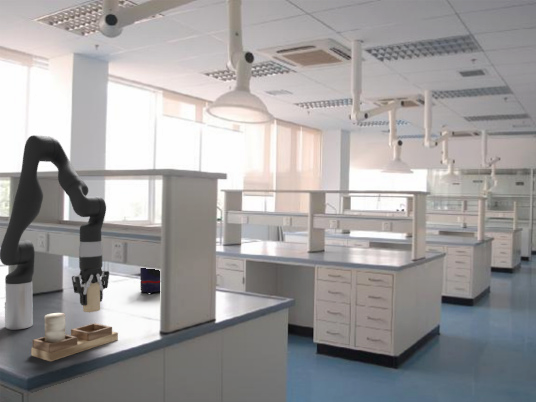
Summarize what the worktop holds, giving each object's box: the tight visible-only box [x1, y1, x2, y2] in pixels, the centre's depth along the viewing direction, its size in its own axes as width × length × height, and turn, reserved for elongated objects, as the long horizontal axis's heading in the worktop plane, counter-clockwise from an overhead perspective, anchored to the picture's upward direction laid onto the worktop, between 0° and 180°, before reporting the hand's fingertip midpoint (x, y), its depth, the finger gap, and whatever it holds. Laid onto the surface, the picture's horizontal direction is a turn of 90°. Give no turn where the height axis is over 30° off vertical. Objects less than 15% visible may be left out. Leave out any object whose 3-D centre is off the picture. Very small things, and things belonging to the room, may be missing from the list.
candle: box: [82, 282, 101, 313], centre depth 169 cm, size 6×6×10 cm
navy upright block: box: [139, 268, 161, 294], centre depth 254 cm, size 14×12×30 cm
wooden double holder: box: [31, 312, 119, 362], centre depth 164 cm, size 10×26×12 cm, turn 148°
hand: (91, 303), depth 169 cm, fingers closed on candle, 5 cm apart
